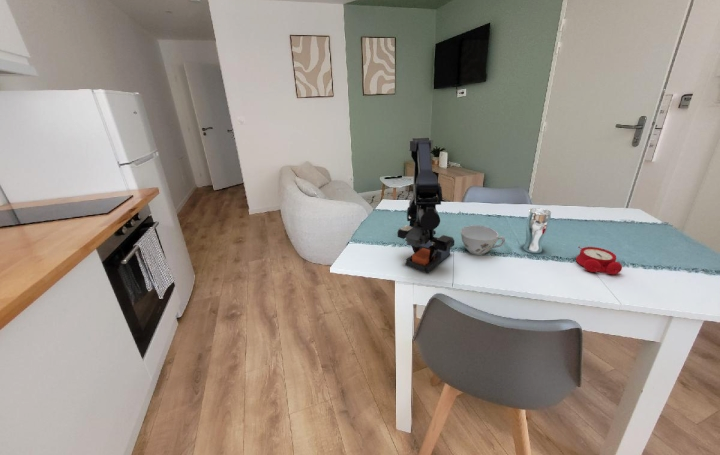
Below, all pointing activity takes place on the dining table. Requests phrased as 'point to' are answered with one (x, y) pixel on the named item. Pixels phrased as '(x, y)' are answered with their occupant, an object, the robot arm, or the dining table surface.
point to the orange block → (422, 257)
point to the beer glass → (536, 229)
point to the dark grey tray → (438, 259)
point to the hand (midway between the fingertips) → (423, 259)
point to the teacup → (480, 239)
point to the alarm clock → (598, 260)
